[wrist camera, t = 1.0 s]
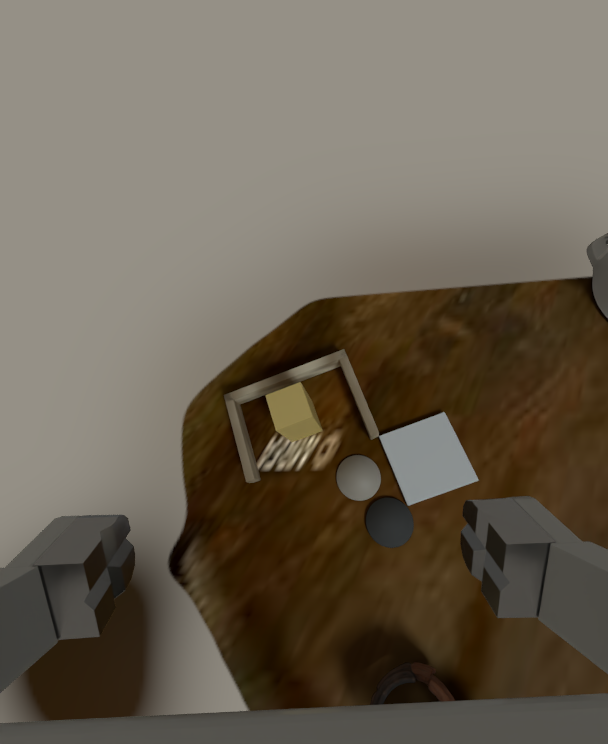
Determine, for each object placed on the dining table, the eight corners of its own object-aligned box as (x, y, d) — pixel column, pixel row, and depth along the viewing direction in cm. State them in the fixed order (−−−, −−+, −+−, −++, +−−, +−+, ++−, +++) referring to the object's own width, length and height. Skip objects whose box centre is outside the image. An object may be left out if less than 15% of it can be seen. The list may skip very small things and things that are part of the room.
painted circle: (360, 446, 42) (360, 446, 42) (389, 480, 40) (390, 480, 40) (327, 474, 42) (327, 474, 42) (356, 510, 40) (356, 510, 40)
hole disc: (390, 487, 40) (390, 487, 40) (423, 526, 38) (423, 526, 38) (356, 517, 40) (356, 517, 40) (388, 557, 38) (388, 558, 38)
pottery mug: (379, 793, 32) (353, 795, 27) (385, 662, 39) (365, 644, 34) (533, 849, 28) (537, 863, 23) (511, 689, 34) (510, 673, 29)
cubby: (345, 356, 46) (343, 349, 44) (378, 436, 42) (379, 433, 40) (231, 400, 47) (223, 395, 45) (253, 482, 43) (246, 482, 41)
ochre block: (312, 401, 45) (300, 381, 38) (322, 430, 44) (312, 416, 36) (282, 412, 45) (265, 395, 38) (292, 442, 44) (276, 430, 36)
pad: (443, 413, 42) (444, 411, 41) (477, 480, 39) (478, 480, 38) (378, 436, 42) (379, 436, 42) (407, 505, 39) (408, 505, 39)
